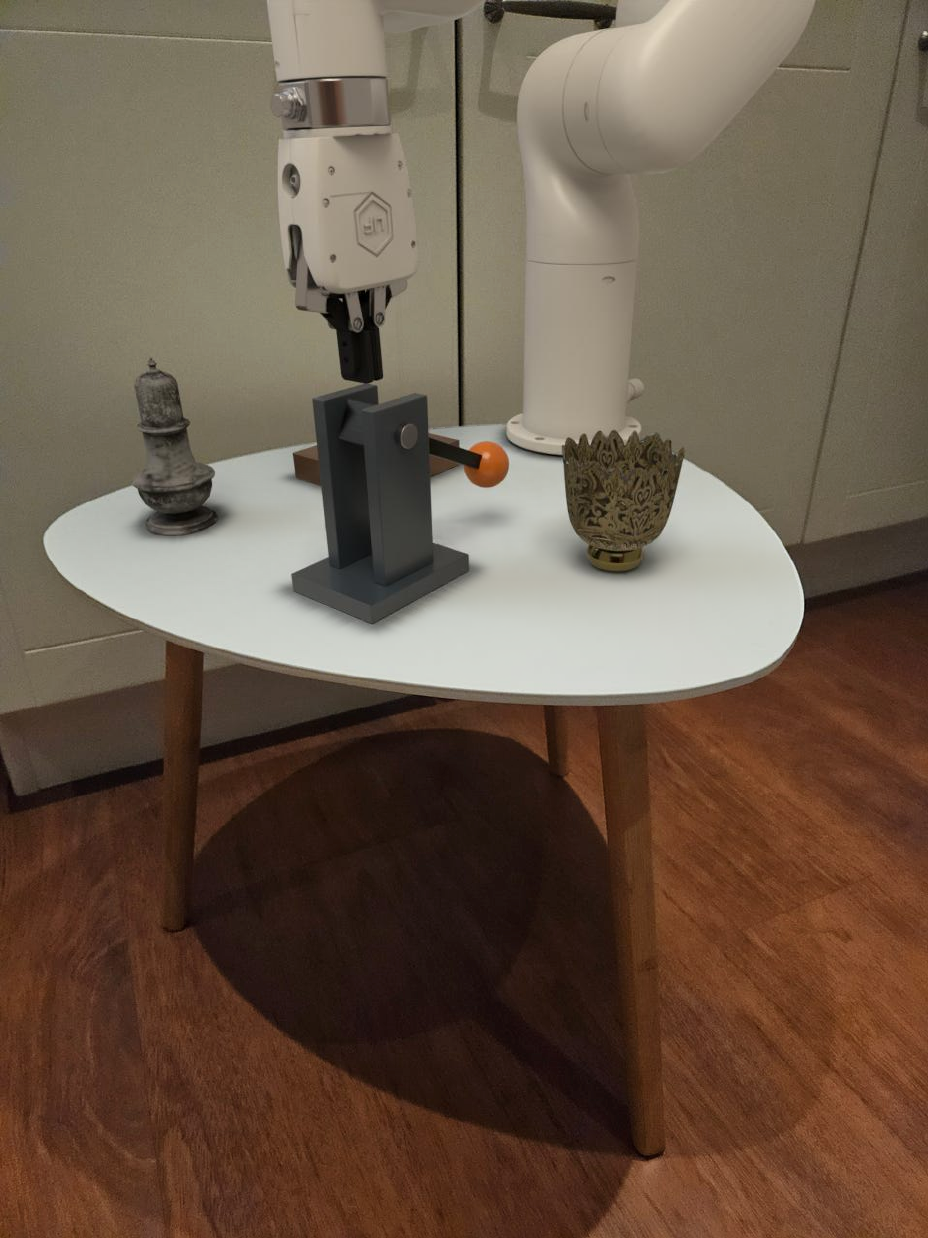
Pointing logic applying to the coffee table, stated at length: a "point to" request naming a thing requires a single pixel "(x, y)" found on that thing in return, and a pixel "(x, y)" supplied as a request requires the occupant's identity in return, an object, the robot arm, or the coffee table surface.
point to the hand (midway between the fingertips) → (362, 378)
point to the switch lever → (440, 449)
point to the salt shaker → (170, 460)
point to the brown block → (310, 471)
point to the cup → (619, 494)
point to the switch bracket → (376, 509)
